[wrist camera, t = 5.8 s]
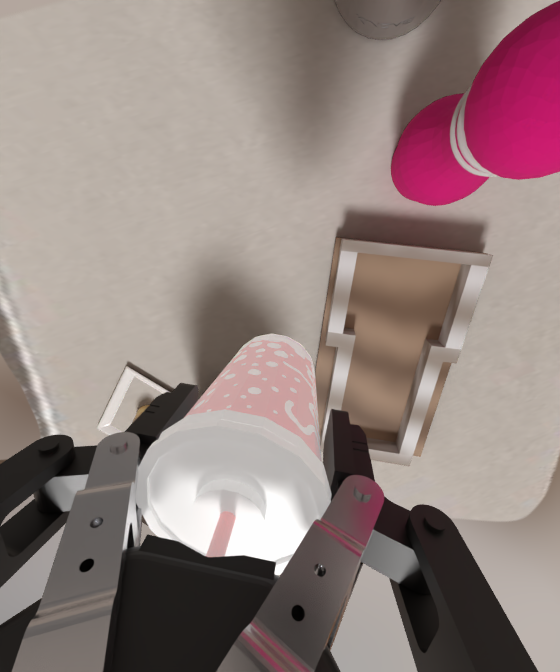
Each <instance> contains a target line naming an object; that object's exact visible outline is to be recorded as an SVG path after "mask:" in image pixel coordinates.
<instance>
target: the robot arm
mask: <svg viewBox="0 0 560 672" xmlns="http://www.w3.org/2000/svg"><path fill="white" fill-rule="evenodd" d="M439 2H440V0H335V3H336V5H337V7H338V10H339V12H340V14H341V15H342V17H343V18H344V20H345V21H346V23H347V24H348V25H349V26H350V27H351V28H352V29H354V30H355V31H356V32H357V33H359V34H361V35H363V36H365V37H367V38H372V39H377V40H384V39H393V38H396V37H399V36H402V35H405V34H406V33H408V32H410V31H411V30H413V29H415V28H416V27H417V26H419V25H420V24H421V23H422V22H423V21H424V20H425V19H426V18H428V16H429V15H430V14H431V13H432V11H433V10H434V9H435V8H436V6H437V5H438V4H439ZM197 401H198V386H196V385H190V384H185V383H180V384H179V385H178V386H177V387H176V388H175V389H174V391H173V392H172V393H171V392H165V393H164V394H162V395H160V396H158V397H156V398H155V400H154V401H153V402H152V403H151V404H150V406H148V407H147V408H146V409H145V410H144V412H142V414H141V415H140V416H139V417H138V418H137V419H136V420H135V421H134V422H133V423H132V424H131V425H130V427H129V428H128V429H127V430H126V431H125V432H119V433H115V434H112V435H109V436H107V437H106V438H104V439H103V440H102V441H101V442H100V443H99V444H98V445H97V446H82V447H74V443H73V440H72V438H71V437H69V436H66V435H52V436H48V437H44V438H42V439H39V440H37V441H35V442H34V443H32V444H31V445H29V446H28V447H26V448H25V449H23V450H21V451H20V452H18V453H17V454H15V455H14V456H12V457H11V458H9V459H8V460H6V461H4V462H3V463H1V464H0V526H1V523H2V521H3V520H4V518H5V517H6V516H7V515H8V514H9V513H10V512H11V511H12V510H13V509H14V508H16V507H17V506H18V505H20V504H21V503H22V502H23V501H25V500H26V499H27V498H28V497H29V496H31V495H32V494H34V498H35V499H34V500H32V501H31V502H30V503H29V504H28V505H26V506H25V507H24V508H23V509H21V510H20V511H19V512H18V513H17V514H16V515H14V516H13V517H12V518H11V519H9V520H8V521H7V522H6V523H4V524H3V525H2V526H1V527H0V587H1V586H2V585H3V584H4V583H6V581H8V580H9V579H10V578H11V577H12V576H13V575H14V574H15V573H16V572H17V571H18V570H19V569H20V568H21V567H22V566H23V565H24V564H25V563H26V562H27V561H28V560H29V559H30V558H31V557H32V556H33V555H34V554H35V553H36V552H37V551H38V550H39V549H40V548H41V547H42V546H43V545H44V544H45V543H46V542H47V541H48V540H49V539H50V538H51V537H52V536H53V535H54V534H55V533H56V532H57V531H58V530H59V529H60V528H61V527H62V526H63V525H64V524H65V523H66V525H65V528H64V531H63V534H62V538H61V541H60V544H59V547H58V550H57V553H56V556H55V560H54V562H53V566H52V569H51V572H50V575H49V578H48V581H47V584H46V587H45V590H44V593H43V596H42V598H41V599H40V600H38V601H36V602H35V603H33V604H32V605H30V606H29V607H27V608H26V609H24V610H23V611H21V612H20V613H18V614H16V615H15V616H13V617H12V618H10V619H9V620H7V621H6V622H4V623H3V624H1V625H0V672H340V670H339V668H338V666H337V664H336V662H335V660H334V658H333V656H332V654H331V652H330V650H331V647H332V645H333V642H334V640H335V637H336V634H337V632H338V629H339V626H340V623H341V621H342V618H343V615H344V612H345V610H346V606H347V604H348V602H349V599H350V596H351V594H352V591H353V588H354V586H355V584H356V581H357V578H358V576H359V573H360V571H361V568H362V566H363V563H364V564H366V565H368V566H369V567H371V568H373V569H374V570H376V571H378V572H380V573H382V574H383V575H385V576H387V577H389V579H390V582H391V585H392V589H393V592H394V595H395V598H396V602H397V605H398V608H399V612H400V615H401V618H402V622H403V625H404V628H405V632H406V635H407V638H408V641H409V645H410V648H411V651H412V654H413V658H414V661H415V664H416V667H417V671H418V672H538V670H537V669H536V667H535V665H534V663H533V662H532V660H531V658H530V656H529V655H528V653H527V651H526V649H525V648H524V646H523V644H522V642H521V641H520V639H519V637H518V635H517V633H516V632H515V630H514V628H513V626H512V625H511V623H510V621H509V619H508V618H507V616H506V614H505V612H504V611H503V609H502V607H501V605H500V603H499V602H498V600H497V598H496V597H495V595H494V593H493V591H492V589H491V588H490V586H489V584H488V582H487V581H486V579H485V577H484V575H483V574H482V572H481V570H480V568H479V567H478V565H477V563H476V561H475V559H474V558H473V556H472V554H471V552H470V551H469V549H468V547H467V546H466V544H465V542H464V540H463V538H462V537H461V535H460V533H459V531H458V529H457V528H456V526H455V525H454V523H453V522H452V520H451V519H450V518H449V517H448V516H447V515H446V514H444V513H443V512H442V511H440V510H439V509H437V508H435V507H432V506H429V505H417V506H414V507H413V508H412V510H411V511H409V510H407V509H405V508H403V507H401V506H399V505H396V504H394V503H393V502H391V501H389V500H388V499H387V498H386V497H384V494H383V491H382V489H381V488H380V487H379V485H378V484H377V483H376V482H375V480H374V474H373V469H372V464H371V459H370V454H369V449H368V445H367V438H366V434H365V433H364V431H363V430H362V429H361V427H360V426H359V425H354V424H350V420H349V413H348V412H347V411H342V410H336V409H331V411H330V415H329V420H328V425H327V430H326V434H325V440H324V449H323V465H324V468H325V471H326V475H327V479H328V483H329V486H330V490H331V494H332V495H331V503H330V504H329V506H328V508H327V509H326V511H325V513H324V514H323V516H322V518H321V519H320V520H319V519H316V520H315V521H314V522H313V524H312V525H311V527H310V528H309V530H308V532H307V533H306V535H305V537H304V538H303V540H302V541H301V543H300V545H299V546H298V548H297V549H296V551H295V553H294V554H293V556H292V558H291V559H290V561H289V562H288V564H287V566H286V567H285V569H284V570H283V572H282V574H281V575H280V577H279V576H277V575H275V567H276V562H273V561H269V560H264V559H259V558H255V557H250V556H245V555H238V556H222V557H206V556H204V555H202V554H200V553H199V552H197V551H195V550H193V549H191V548H190V547H188V546H186V545H184V544H182V543H181V542H179V541H175V540H170V539H166V538H161V537H156V536H152V535H147V536H146V538H145V540H144V542H143V543H142V545H141V546H140V538H141V527H142V516H143V515H142V509H141V508H138V506H137V504H136V490H137V481H138V467H139V465H140V463H141V461H142V459H143V458H144V456H145V454H146V452H147V450H148V448H149V447H150V446H151V444H152V443H153V442H155V441H156V440H158V439H159V437H160V435H161V433H162V432H163V431H164V430H166V429H167V428H169V427H171V426H172V425H174V424H175V423H177V422H178V421H180V420H182V419H183V418H184V417H185V416H186V415H187V413H188V412H189V411H190V410H191V408H192V407H193V406H194V405H195V404H196V402H197Z"/></svg>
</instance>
